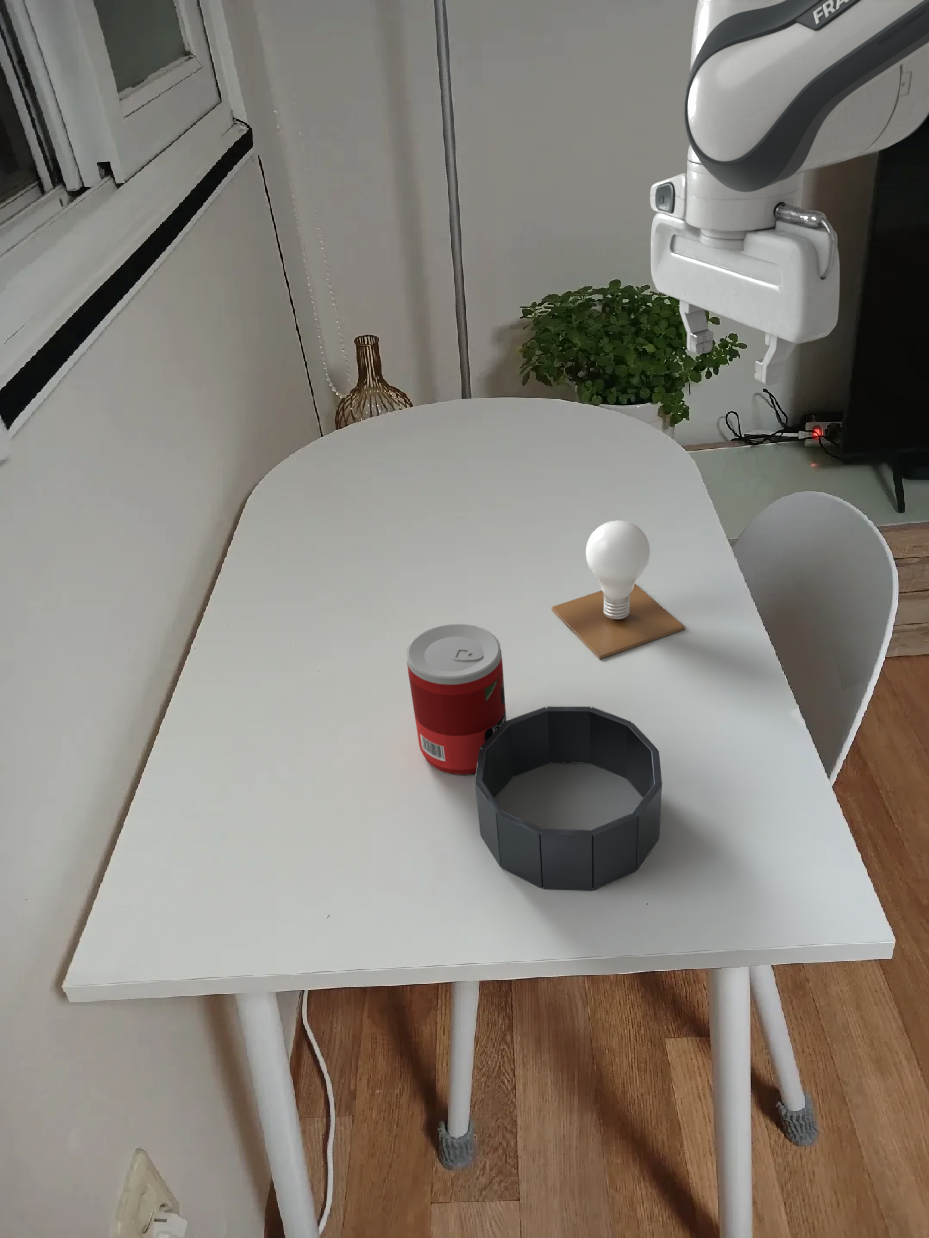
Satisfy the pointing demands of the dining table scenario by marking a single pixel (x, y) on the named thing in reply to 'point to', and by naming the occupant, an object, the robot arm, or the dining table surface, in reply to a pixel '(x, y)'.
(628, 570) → the lightbulb
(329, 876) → the dining table surface
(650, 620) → the coaster
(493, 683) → the canned food
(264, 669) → the dining table surface
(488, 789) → the dark grey polygonal container
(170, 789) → the dining table surface
